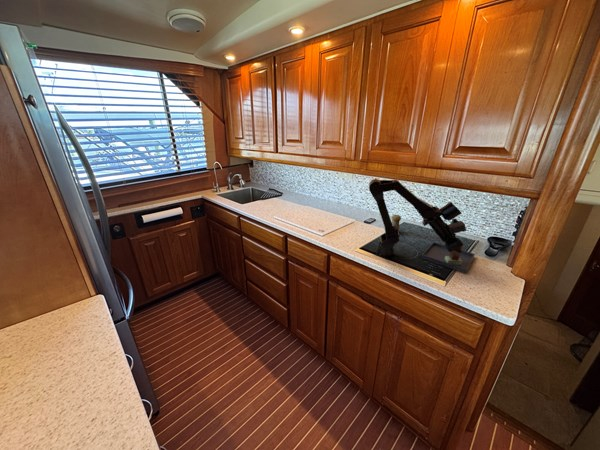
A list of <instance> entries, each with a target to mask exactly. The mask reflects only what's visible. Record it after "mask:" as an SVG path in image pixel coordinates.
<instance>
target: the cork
mask: <svg viewBox="0 0 600 450" xmlns="http://www.w3.org/2000/svg"><path fill="white" fill-rule="evenodd" d="M401 220H402V217H401V215H399V214H393V215H392V216H391V222H392V224H393V226H394V225H397V228H398V231H399V232H400V222H401Z"/></svg>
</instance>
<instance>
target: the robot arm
mask: <svg viewBox="0 0 600 450" xmlns="http://www.w3.org/2000/svg"><path fill="white" fill-rule="evenodd" d="M368 190H369V192H370V194H371V196H372V197H373V199H374V200H375V202H376V205H377V206H376V207H377V209H378V212H379V215H380V217H381V220H382V223H383V226H384V233H383V234H381V235H380V236H379V237H380V241H379V242H378V247H377V252H376V253H375V255H376V256H378V257H381V258H384V259H386V260H389V259H390V258H392V257H393V256H394V251H395V248H394V246H395V245H397V243H398V242H399V241H400V238H401V234H400V230H399V231H398V228H397V225H394V226H393V224H392V218H391V216H390V213H389V210H388V207H387V204H386V201H385V197H384V193H387V192H392V191H395V192H396V193H397V194H398V195H400V196H401V197H402V198H403V199H404V200H406V201H407V202H408V203H409V204H410V205H411V206H413V208H414V209H415V210H416V212H417V213H418V214H419V215H420V216H421V217H422V222H421V223H422V225H423V227H426V226H427V225H428V226H429V227H430V228H431V229H432V230H433V231H434V233H435V235H436V236H438V238H440V240H441V241H442V242H443V243H445V244H444V245H445V247H446V248H447V249H448V251H449V252H452V251H457V252H459V253H460V252H462V251H461V248H460V247H461V246H463V247H464V242H463V241H462V240H461V239H460V238H459V237H456V235H457V234H459V233H462V232H464V233H465V232H466V231H467V227H466V224H465V222H464V221H463V220H459V219H457V217H458V216H460V215H462V211H461V210H460V209H459V208H458V207H457V206H456V205H455V204H454V203H453V202H452V201H449V202H448V203H446V204H445V205H444V206H442V207H440V208H439V207H438V206H434V205H431V204H430V203H428V202H426V201H425V200H423V199H421V198H419V197H417V196H416V195H415V194H414V193H413V192H411V190H409V189H408V188H407V187H406V186H405V185H403V184H402V183H401V182H400V181H399V180H398V179H379V178H373V179H371V180H370V181H369V183H368ZM445 221H447V222H450V223H447V222H445Z"/></svg>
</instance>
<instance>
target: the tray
mask: <svg viewBox="0 0 600 450" xmlns="http://www.w3.org/2000/svg"><path fill="white" fill-rule="evenodd" d="M450 253H451V252H449V251H448V249H447V248H446V247H445V244H442V243H438V242H436V241H432V242H431V243H430V245H428V247H427V248H425V250H424V251H423V252H422V253H421V255H420V259H422V260H426V261H428V262H431V263H434V264H437V265H440V266H443V267H445V268H448V269H451V270H454V271H457V272H460V273H462V274H467V272H468V270H469V268H470V266H471V264H472V262H473V260H474V259H475V256H476V254H475V253H473V252H470V251H467V250H463V249H462V252H461V254H460V257H459V258H460V259H461V260H462V265H456V264H450V263H447V262H446V261H445V256H450ZM454 267H455V268H454Z"/></svg>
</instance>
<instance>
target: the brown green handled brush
mask: <svg viewBox="0 0 600 450" xmlns="http://www.w3.org/2000/svg"><path fill="white" fill-rule="evenodd" d="M463 247H464V245H463V246H461V247H460V248H461V251H462V250H463ZM460 254H461V252H460V253H459V252H457V251H452V252H451V253H450V256H445V261H446V262H447V263H450V264H456V265H462V260H461V259H460V258H459V257H460Z"/></svg>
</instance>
